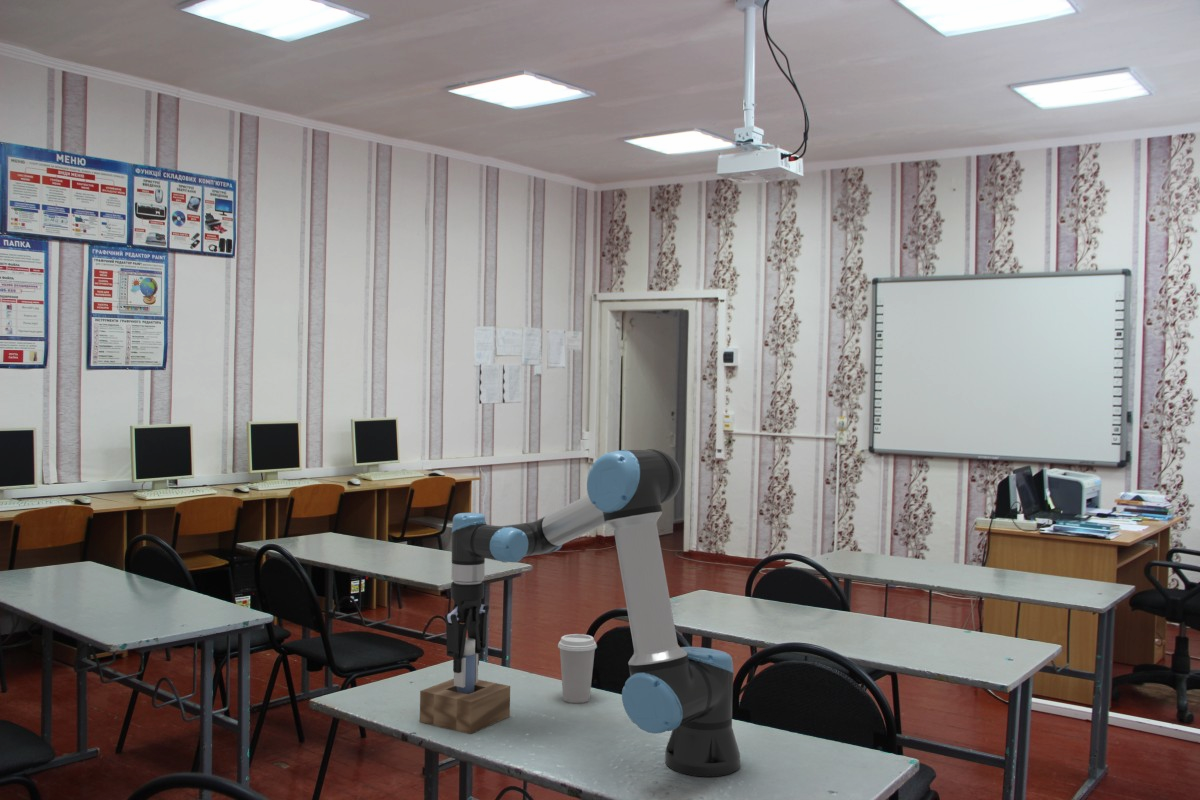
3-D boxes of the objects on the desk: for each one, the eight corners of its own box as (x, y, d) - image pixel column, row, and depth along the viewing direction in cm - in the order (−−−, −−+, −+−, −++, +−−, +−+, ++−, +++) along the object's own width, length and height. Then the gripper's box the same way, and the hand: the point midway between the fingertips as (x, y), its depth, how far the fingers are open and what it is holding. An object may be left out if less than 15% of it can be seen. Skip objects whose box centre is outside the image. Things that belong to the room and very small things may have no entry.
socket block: (509, 716, 230) (510, 686, 230) (470, 734, 218) (471, 702, 218) (460, 705, 238) (460, 676, 238) (419, 721, 225) (420, 690, 225)
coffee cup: (603, 697, 246) (604, 636, 246) (581, 707, 238) (583, 644, 238) (571, 691, 251) (572, 631, 251) (549, 700, 243) (550, 638, 243)
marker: (477, 718, 228) (478, 639, 228) (466, 722, 225) (467, 643, 225) (463, 715, 230) (465, 637, 230) (452, 719, 227) (454, 640, 227)
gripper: (477, 574, 237) (475, 672, 237) (430, 585, 222) (428, 690, 222) (503, 577, 233) (501, 677, 233) (457, 589, 218) (455, 695, 218)
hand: (465, 683), depth 228 cm, fingers closed on marker, 4 cm apart
